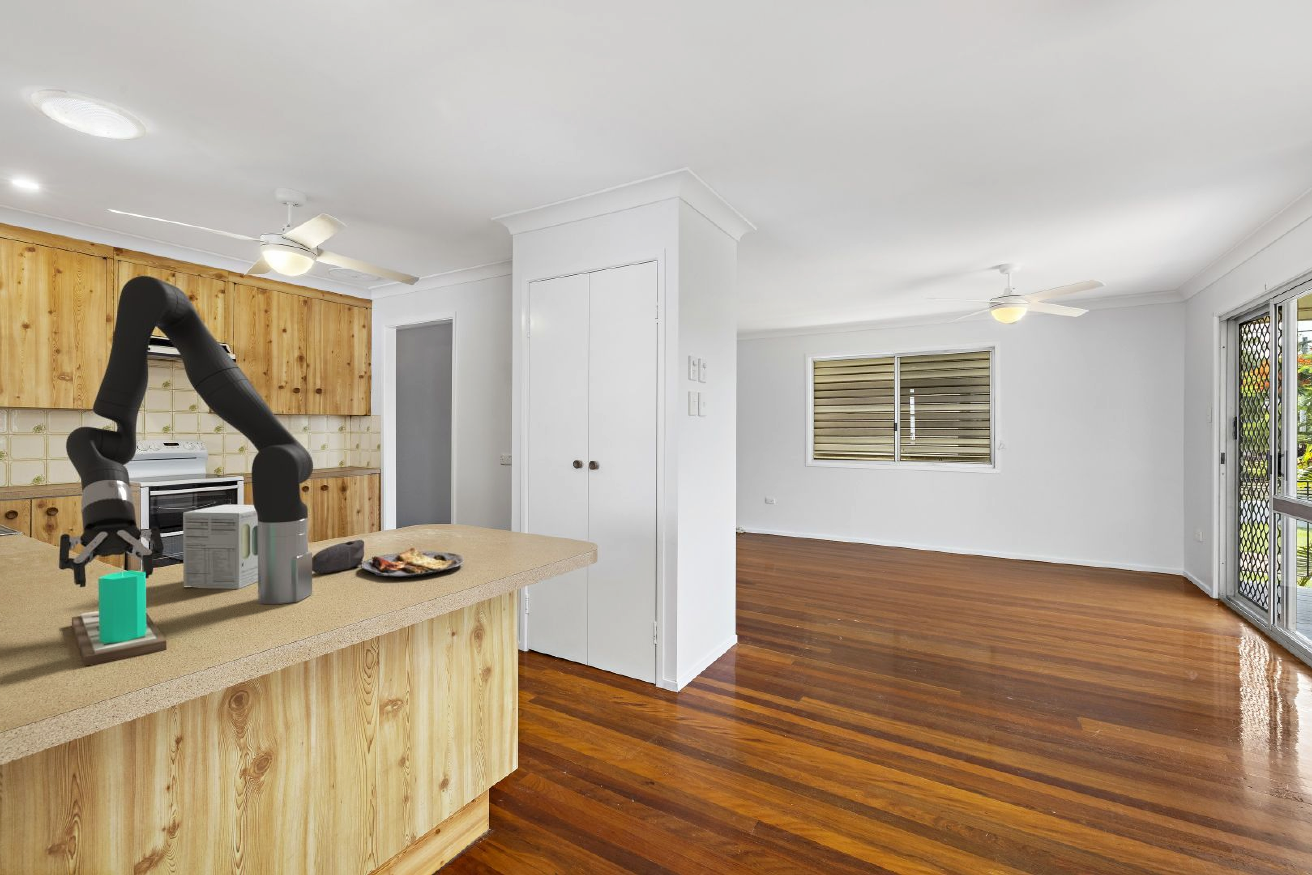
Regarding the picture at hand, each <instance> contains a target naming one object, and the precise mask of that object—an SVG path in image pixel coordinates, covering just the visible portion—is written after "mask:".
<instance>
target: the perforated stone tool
mask: <svg viewBox="0 0 1312 875" xmlns="http://www.w3.org/2000/svg"><path fill="white" fill-rule="evenodd" d="M364 556H365V541H364V540H363V539H356V540H351V541H350V540H349V541H345V542H341V543H337V544H334V545H331V546H328V547H327V548H324V549H321V550H320V551H318V552H317V553H315V554H314V555H312V572H314V573H316V574H328V573H337V572H343V571H346V570H347V571H348V570H349V569H352V568H354V567H355V568H356V567H359V566H361V565H362V563H363V562H364V561H363V559H364Z"/></svg>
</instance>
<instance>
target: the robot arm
mask: <svg viewBox="0 0 1312 875" xmlns="http://www.w3.org/2000/svg"><path fill="white" fill-rule="evenodd" d="M156 328H157V329H158V330H159V331H160V332H161V333H163V334H164V336H166V338H167V339H168V341H170V343H171V344H172V345H173V346H174V347H175V349H176V350H177V352H178V353H179V355H180V357H181V360H182V363H183V367H184V369H185V373H186V376H187V379H188V381H189V383H190V384H191V386H192V387H193V389H194V391H195V392H196V393H197V394H198V396H199V398H201V399H202V400H203V402H204V403H205V404H206V406H207V407H208V408H209V409H210V410H211V411H212V412H214V414H216V415H217V416H218V417H219V418H221V420H223V421H225V422H226V423H227V424H228V425H230V426H231V427H232V428H234V429H236V430H237V431H238V432H239V433H241V434H242V435H243V436H245V438H247V439H248V440H249V442H251V444H252V445H253V446H254V448H255V449H256V450H257V453H256V455H255V456H254V458H253V461H252V466H251V488H252V490H251V492H252V503H253V504H252V505H254V508H255V510H256V512H257V517H258V582H257V598H258V599H257V602H258V603H259V604H263V605H281V604H288V603H298V602H300V601H302V600H304V599H306V598H308V597H310V596H311V595H312V594H313V571H312V558H313V551H309V548H308V546H309V543H308V541H309V537H308V536H309V534H308V533H309V532H308V530H309V528H308V526H309V525H308V524H309V523H308V520H309V517H308V516H309V514H308V505H306V503H304V502H303V501H302V500H303V499H301V498H302V497H301V488H300V485H301V484H303V483H305V482H307V481H308V480H309V479H310V477H311V475H312V474H313V471H314V462H313V459H312V456H311V455H310V453H309V452H308V450H307V449H306V448H305V447H304V446H303V445H302V443H301V442H299V440H298V439H296V437H295V436H294V435H293V434H292V433H290V431H289V430H288V429H287V428H286V427H285V426H284V425H283V423H281V421H280V420H279V419H278V418H277V417H276V415H275V414H274V412H273V411H272V409H271V408H270V407H269V405H268V404H267V403H266V401H265V400H264V399H263V397H262V396H261V394H260V393H259V392H258V390H257V389H256V388H255V387H254V385H253V384H252V382H251V381H250V380H249V378H248V377H247V376H246V374H245V373H244V372H243V370H242V369H241V368H240V366H238V365H237V363H236V362H235V361H234V360H233V359H232V357H231V356H230V355H229V353H228V352H227V351H226V350H225V348H224V347H223V346H222V345H221V344H220V343H219V342H218V341H217V339H216V338H215V337H214V336H213V335H212V333H211V331H209V329H208V327H207V326H206V324H205V323H204V321H203V319H202V318H201V316H200V314H199V313H198V311H197V310H196V308H195V306H194V305H193V303H192V302H191V300H190V298H189V297H188V296H187V294H186V293H185V291H183V290H181V289H180V288H178V287H177V286H175V285H173V284H170V283H168V282H166V281H163V280H161V279H159V278H157V277H154V276H148V275H140V276H139V275H138V276H135V277H132V278H130V279H129V280H128V281H127V282H126V283H125V284H124V285H123V287H122V289H121V291H120V296H119V299H118V306H117V312H116V320H115V326H114V332H113V338H112V344H111V348H110V349H111V350H110V354H109V359H108V364H107V366H106V369H105V372H104V375H103V378H102V380H101V383H100V386H99V389H98V392H97V394H96V396H95V400H94V403H93V404H92V412H93V413H94V414H95V415H97V416H99V417H101V418H104V419H107V420H110V421H113V422H114V423H115V424H116V430H110V429H104V428H99V427H94V426H80V427H78V428H76V429H74V430H73V431H71V432H70V433H69V435H68V436H67V439H66V443H65V449H66V454H67V456H68V459H69V461H70V462H71V464H72V465H73V467H74V469H75V471H76V472H77V474H78V476H79V478H80V480H81V502H80V504H81V506H80V508H81V509H80V513H81V519H82V520H81V521H82V532H83V533H82V534H81V535H80V536H70V535H69V534H67V533H64V534H61V535H60V538H59V539H60V540H59V557H58V561H59V562H58V568H59V569H60V570H63V571H64V570H67V569H70V570H72V571H73V583H74V584H75V586H77V585H79V588H85V587H86V585H87V584H86V583H87V579H86V578H87V577H86V567H87V565H88V564H90V563H91V562H93V560H94V559H95V558H97V557H98V556H99V557H101V558H102V557H104V558H105V557H109V556H122V555H125V553H127V554H128V555H130V556H131V557H133V558H137V559H138V560H140V561H141V572H146V579H149V578H150V576H151V575H153V572H154V563H153V560H154V559H162V557H163V553H164V548H165V547H164V543H163V540H162V534H161V531H160V528H159V526H157V525H153V526H151V527H150V528H149V529H144V530H140V529H139V527H138V525H137V519H136V518H137V517H136V510H135V502H134V496H133V493H132V490H131V482H130V476H129V472H128V468H126V466H125V465H127V464H128V463H130V462H132V459H133V458H134V457H135V456H136V452H137V421H138V414H139V412H140V408H141V407H142V404H143V400H144V397H145V395H146V392H147V387H148V384H149V362H148V361H149V358H148V353H149V344H150V341H151V338H152V335H153V332H154V330H155V329H156ZM141 538H144V539H145V540H146V541H147V542H150V543H151V547H152V549H149V548H148V547H146V545H143V543H142V541H140V540H141ZM79 544H80V545H82V547H84V548H83V549H82V551H81V552H80V553H79V554H78V555H76V557H75V558H74V557H73V558H71V557H70V551H71V550H73V549H75V548H76V546H77V545H79Z"/></svg>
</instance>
